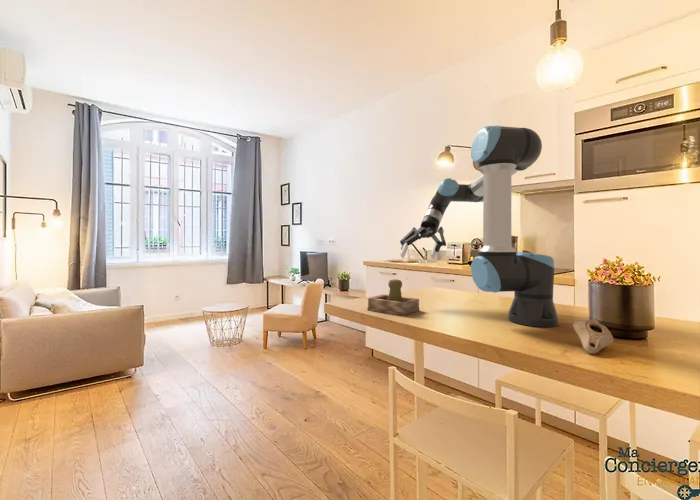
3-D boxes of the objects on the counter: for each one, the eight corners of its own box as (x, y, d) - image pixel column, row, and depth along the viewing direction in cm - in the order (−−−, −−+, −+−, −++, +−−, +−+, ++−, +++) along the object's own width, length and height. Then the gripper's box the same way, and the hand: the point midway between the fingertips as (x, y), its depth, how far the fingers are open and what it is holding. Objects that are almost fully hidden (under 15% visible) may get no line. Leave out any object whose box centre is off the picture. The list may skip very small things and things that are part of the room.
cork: (392, 305, 139) (392, 278, 138) (405, 307, 135) (406, 279, 134) (384, 308, 134) (384, 279, 133) (397, 310, 130) (398, 281, 130)
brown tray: (419, 310, 136) (419, 298, 135) (404, 316, 126) (404, 303, 126) (383, 305, 145) (383, 294, 145) (367, 310, 136) (367, 298, 135)
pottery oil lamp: (567, 351, 89) (568, 323, 89) (574, 340, 98) (575, 315, 98) (610, 359, 84) (611, 330, 83) (613, 346, 93) (615, 320, 92)
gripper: (461, 227, 151) (448, 263, 139) (408, 228, 165) (393, 261, 153) (457, 213, 146) (443, 250, 134) (403, 216, 161) (386, 249, 149)
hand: (416, 256), depth 144 cm, fingers open, 13 cm apart
